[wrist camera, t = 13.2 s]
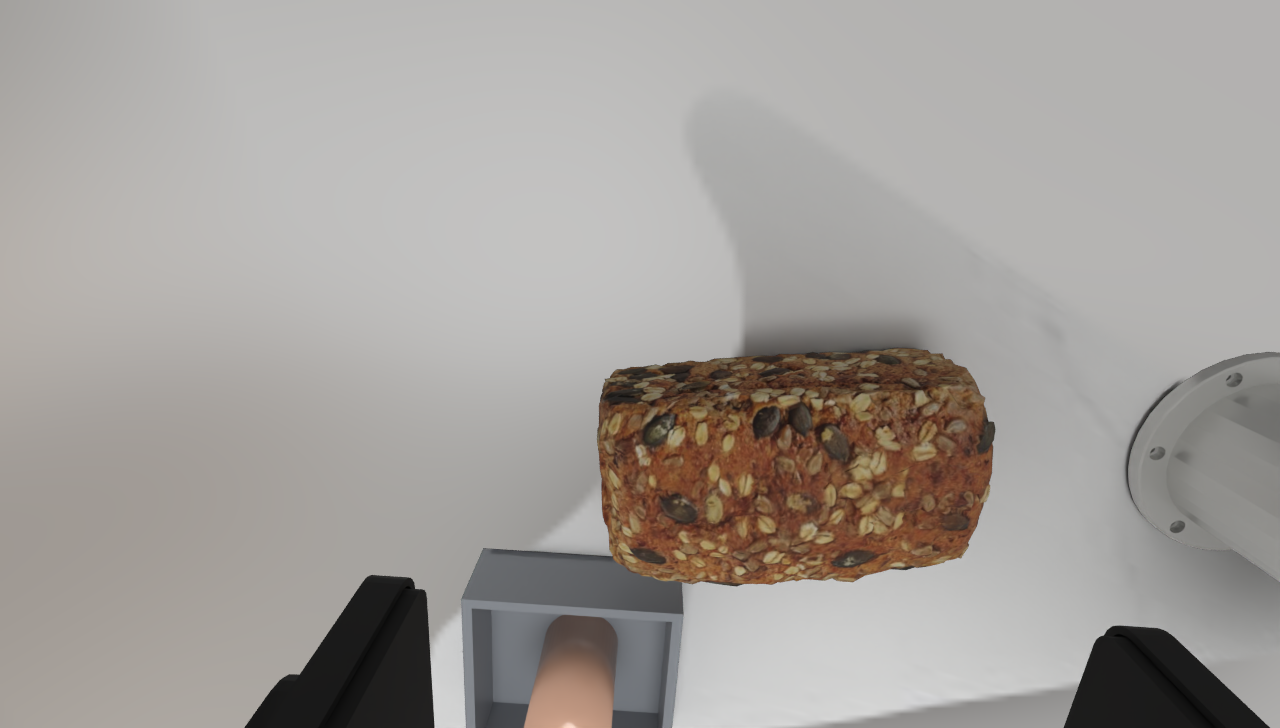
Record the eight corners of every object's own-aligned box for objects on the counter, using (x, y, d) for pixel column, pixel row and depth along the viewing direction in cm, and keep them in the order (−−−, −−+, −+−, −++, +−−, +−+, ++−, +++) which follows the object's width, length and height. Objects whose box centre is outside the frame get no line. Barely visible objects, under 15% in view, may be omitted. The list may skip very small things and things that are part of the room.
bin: (680, 561, 42) (683, 614, 37) (665, 713, 46) (666, 778, 41) (483, 548, 42) (461, 599, 37) (486, 700, 46) (467, 764, 41)
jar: (618, 613, 42) (610, 711, 35) (617, 673, 44) (609, 780, 36) (544, 609, 42) (519, 707, 35) (545, 670, 44) (522, 776, 36)
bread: (926, 334, 36) (1019, 398, 27) (914, 496, 40) (994, 604, 30) (604, 354, 37) (586, 423, 28) (619, 511, 41) (607, 621, 31)
